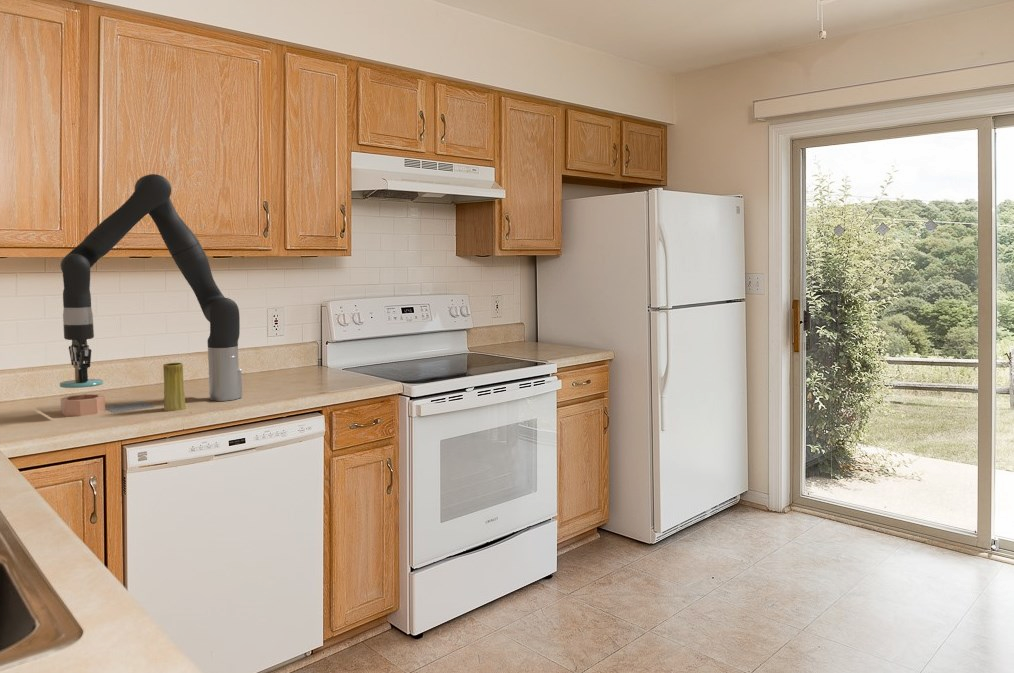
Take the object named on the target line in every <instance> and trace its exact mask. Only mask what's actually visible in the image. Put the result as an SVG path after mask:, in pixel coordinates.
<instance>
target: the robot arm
mask: <svg viewBox="0 0 1014 673" xmlns="http://www.w3.org/2000/svg"><path fill="white" fill-rule="evenodd" d="M171 195H172V186H171V183H170V181H169V180H168V179H167V178H165V177H164V176H163V175H159V174H157V173H153V174H152V173H151V174H150V173H149V174H146V175H143V176H141V177H140V178H139V179H137V181H135V185H134V192H133V193H132V194H131V195H130V197H129V198H128V199H127V200H125V202H124V203H123V204H122V205H121V206H120V207H118V208H117V209H116V210H115V211H114V212H112V213H111V214H110V215H109V216H108V217H107V218H105V219H104V220H102V221H101V222H100V223H99V224H98V225H97V226H95V227H94V229H93V230H91V231H90V233H88V235H86V237H85V238H84V239H83V240H82V241H81V242H80V243H79V244H77V246H75V248H73V249H72V250H71V251H70V252H68V253H67V254H66V255H65V256H64V257H63V258H62V259H61V261H60V270H61V271H62V279H63V290H62V305H63V306H62V307H63V309H62V310H63V311H62V312H63V313H62V321H63V322H62V323H63V338H64V340H65V341H67V340H68V341H71V345H69V346H68V352H69V356H70V358H69V359H70V362H71V366H72V367H73V369H75V365H78V375H79V382H87V381H88V379H89V375H88V373H89V372H88V369H89V368H90V367H91V360H92V352H93V351H92V349H91V348H90V345H88V340H91V339H93V338H94V337H95V333H94V316H93V315H94V314H93V310H92V309H93V308H92V295H91V294H92V293H91V289H90V288H91V268H93V266H95V264H96V263H97V262H98V261H99V260H100V259H102V258H103V257H104V256H106V255H107V254H108V253H109V252H110V251H111V250H112V249H113V248H114V247H115V246H116V245H117V244H118V243H119V242H121V240H122V239H123V238H124V237H125V236H126V235H127V234H128V233H129V232H130V231H131V230H132V229H133V227H134V226H136V224H138V223H139V222H140V221H141V220H142V219H143V218H144V217H145V216H147V215H148V214H149V216H150V218H151V219H152V220H153V222H154V224H155V226H156V228H157V230H158V231H159V234H160V237H161V238H162V240H163V243H164V245H165V247H166V249H167V250H168V252H169V254H170V255H171V258H172V259H173V261H174V263H175V265H176V267H177V268H178V269H179V270H180V273H181V274H182V276H183V278H184V279H185V280H186V282H187V283H188V285H189V286H190V288H191V289H192V292H193V293H194V294H195V298H196V299H197V302H198V304H199V306H200V308H201V311H202V314H203V315H204V317H205V319H206V320H207V321H208V322H209V337H208V338H207V359H208V363H207V364H208V383H209V384H208V387H209V388H208V389H209V400H210V401H213V402H214V401H216V402H219V401H220V402H223V401H226V402H227V401H233V400H237V399H240V398H241V399H242V398H243V378H242V375H243V374H242V369H241V368H240V366H239V364H240V362H239V338H240V330H241V329H240V327H241V324H240V309H239V306H238V304H237V303H236V302H235V300H233V299H231V298H228V297H226V296H224V295H223V293H222V291H221V290H220V289H219V288H220V287H218V285H217V283H216V281H215V280H214V277H213V273H212V269H211V265H210V262H209V259H208V256H207V254H206V252H205V250H204V249H203V246H202V244H201V243H200V241H199V239H198V238H197V236H196V235H195V234H194V232H193V231H192V229H191V228H189V226H188V225H187V224H186V223H185V222H184V220H183V219H182V218H181V217H180V215H179V214H178V212H177V211H176V208H175V206H174V204H173V203H172V200H171V198H170V197H171Z"/></svg>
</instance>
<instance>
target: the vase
mask: <svg viewBox="0 0 1014 673" xmlns="http://www.w3.org/2000/svg"><path fill="white" fill-rule="evenodd" d="M162 370H163V407H164V408H163V410H164V411H166V412H177V411H184V410H186V409H187V408H186V407H187V406H186V398H185V397H186V396H185V388H184V387H185V386H184V366H183V363H182V362H169V363H164V364H163V369H162Z"/></svg>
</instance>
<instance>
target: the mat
mask: <svg viewBox="0 0 1014 673" xmlns="http://www.w3.org/2000/svg"><path fill="white" fill-rule="evenodd" d="M149 408H151V409H152V408H156V406H155V405H152V404H150V403H147V402H145V401H135V402H126V403H119V404H112V405H110V404H109V405H105V411H106V410H107V411H109V412H111V413H120V412H129V411H136V410H143V409H144V410H145V409H149Z"/></svg>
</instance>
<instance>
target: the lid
mask: <svg viewBox="0 0 1014 673" xmlns="http://www.w3.org/2000/svg"><path fill="white" fill-rule="evenodd" d="M103 384H104V380H102V379H98V378H88V381H87V382H79V375H78V365H75V368H74V379H73V380H65V381H62V382H59V388H64V389H74V388H75V389H79V388H82V389H83V388H90V387H91V388H92V387H97V386H100V385H103Z"/></svg>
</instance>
